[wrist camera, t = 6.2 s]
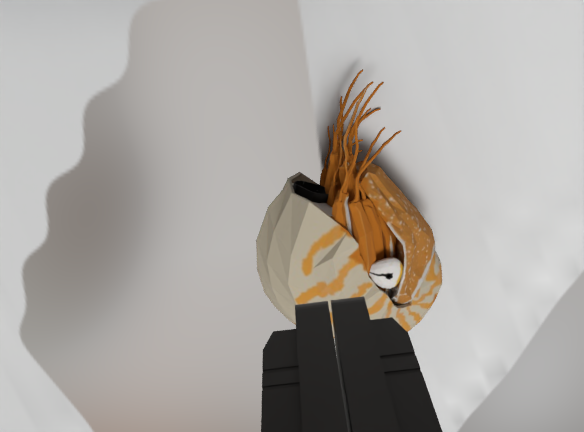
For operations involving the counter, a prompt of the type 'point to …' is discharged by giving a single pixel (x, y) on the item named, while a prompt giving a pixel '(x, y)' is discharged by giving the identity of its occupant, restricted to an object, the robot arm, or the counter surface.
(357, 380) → the robot arm
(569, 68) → the counter surface
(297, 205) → the nautilus
